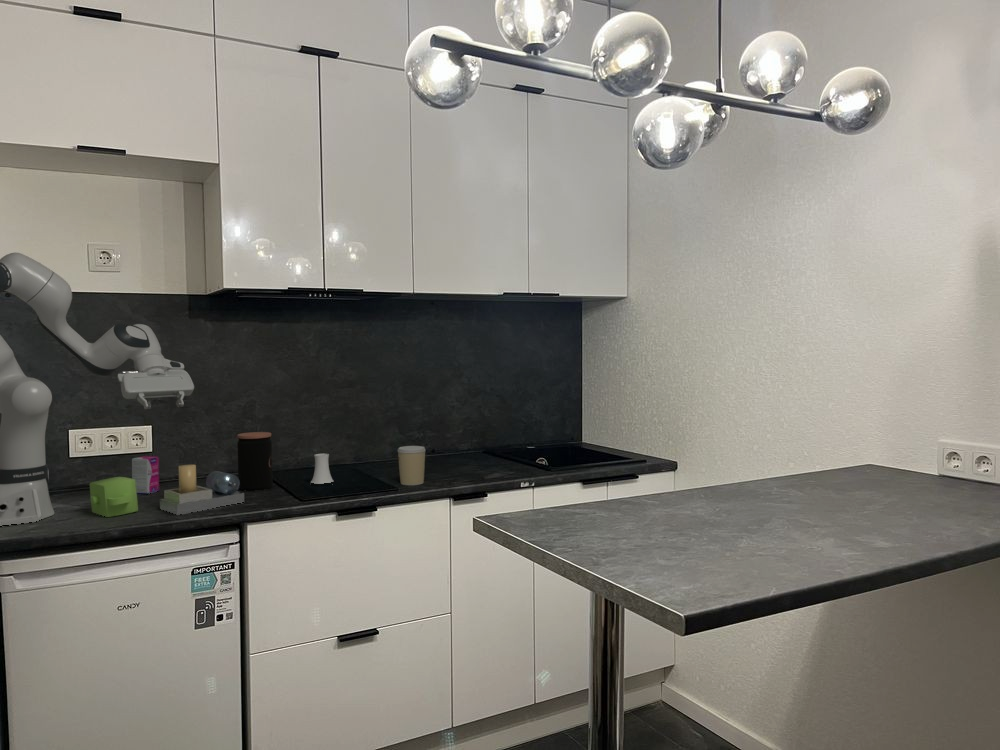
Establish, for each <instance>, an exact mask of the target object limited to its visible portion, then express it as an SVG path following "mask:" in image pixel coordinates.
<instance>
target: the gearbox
mask: <svg viewBox="0 0 1000 750" xmlns="http://www.w3.org/2000/svg"><path fill="white" fill-rule="evenodd" d="M88 485H89V493H90V495H89V496H90V503H91V505H90V506H91V513H92V512H94V513H97V514H100V515H102V516H101V517H104V516H105V517H104V518H111V517H117V516H121V515H126V514H127V515H128V514H133V513H135V512H138V511H139V503H138V494H137V491H136V481H135V480H134V479H132V477H131V478H130V477H126V476H125V477H124V476H115V477H108V478H105V479H100V480H99V479H98V480H95V481H91V482H89V483H88ZM94 513H93V514H94ZM97 514H96V515H97ZM100 515H99V516H100Z"/></svg>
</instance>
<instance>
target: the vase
mask: <svg viewBox="0 0 1000 750" xmlns="http://www.w3.org/2000/svg"><path fill="white" fill-rule="evenodd" d="M313 456H314V473H313V476H312V479H311V480H310V484H311V483H314V484H324V483H331V482H334V479H333V477H332V475H331V471H330V467H329V466H330V465H329V457H330V454H329V453H318V454H317V453H316V454H315V453H314V455H313Z"/></svg>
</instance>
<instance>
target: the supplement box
mask: <svg viewBox="0 0 1000 750" xmlns="http://www.w3.org/2000/svg"><path fill="white" fill-rule="evenodd" d="M159 462H160V458H159V456H146V455H145V456H144V455H143V456H140V457H134V458H131V479H134V480H135V481H136V491H137V495H141V494H148V495H151V494H154V493H157V491H158V492H160V482H159V481H160V470H159V469H160V468H159V465H160V463H159ZM150 493H151V494H150Z"/></svg>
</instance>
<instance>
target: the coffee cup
mask: <svg viewBox="0 0 1000 750" xmlns="http://www.w3.org/2000/svg"><path fill="white" fill-rule="evenodd" d="M397 455H398V456H397V458H398V468H399V471H398V472H399V481H400V484H401V485H403V486H417V485H423V484H424V483H425V467H426V466H425V465H426V464H425V463H426V448H425V446H421V445H406V446H400V447H398V448H397Z"/></svg>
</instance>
